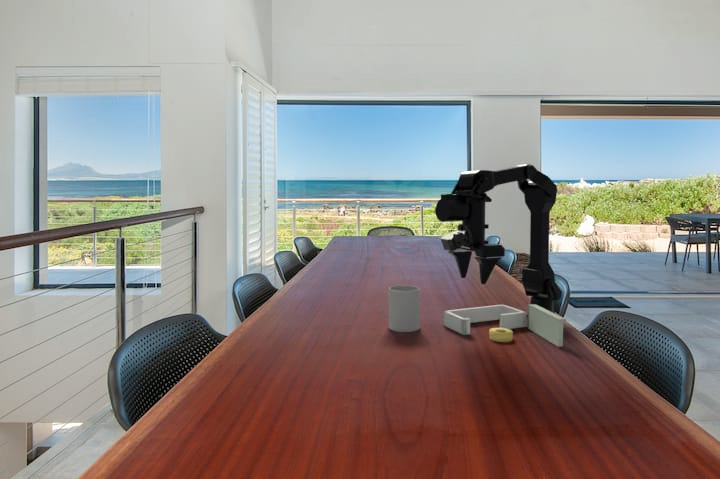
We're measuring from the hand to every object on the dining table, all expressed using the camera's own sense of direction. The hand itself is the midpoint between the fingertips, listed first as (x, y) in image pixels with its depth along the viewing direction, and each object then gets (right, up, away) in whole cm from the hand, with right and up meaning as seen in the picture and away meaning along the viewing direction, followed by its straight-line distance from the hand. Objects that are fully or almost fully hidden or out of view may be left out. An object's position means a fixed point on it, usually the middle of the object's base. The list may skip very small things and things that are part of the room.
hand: (472, 280), depth 119 cm
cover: (+18, -14, -2) cm, 23 cm away
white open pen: (+5, -13, +8) cm, 16 cm away
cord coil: (+6, -14, -3) cm, 16 cm away
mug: (-16, -14, +9) cm, 23 cm away
